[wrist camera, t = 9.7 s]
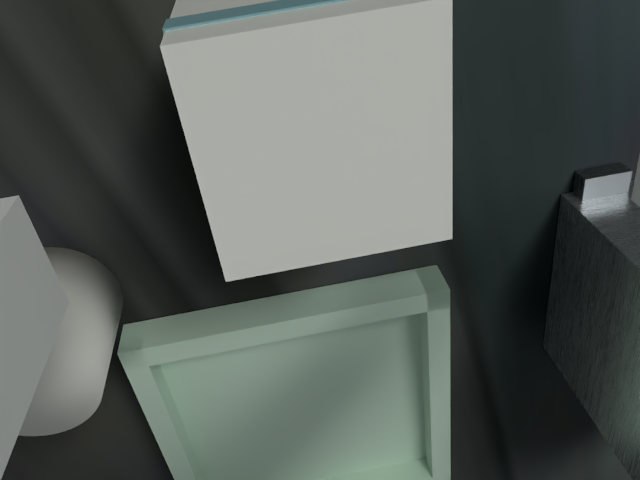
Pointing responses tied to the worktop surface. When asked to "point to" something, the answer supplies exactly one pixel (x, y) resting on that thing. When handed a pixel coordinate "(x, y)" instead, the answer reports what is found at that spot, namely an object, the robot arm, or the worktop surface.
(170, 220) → the worktop surface
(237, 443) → the tray
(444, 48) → the block
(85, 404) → the cream knob
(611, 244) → the box
